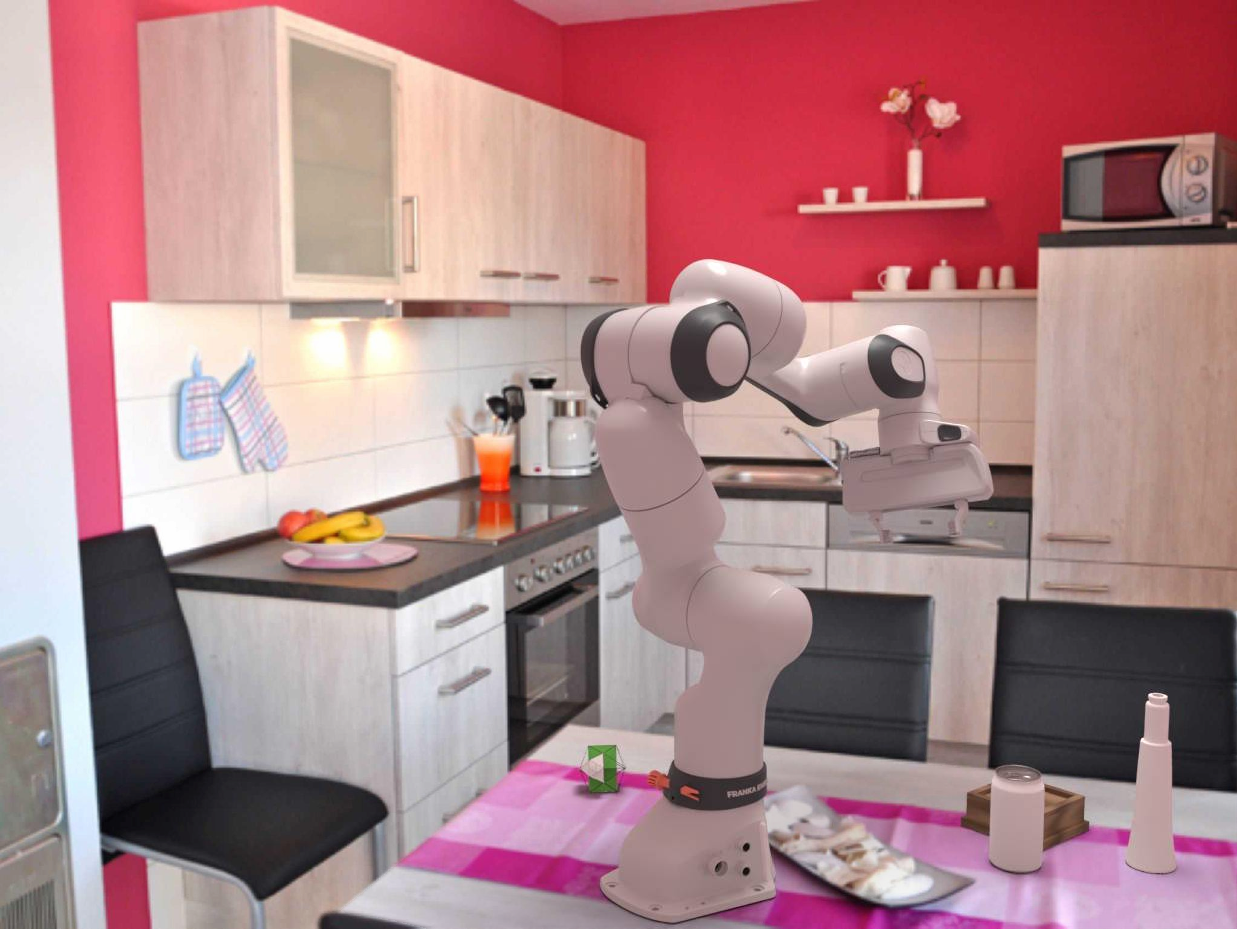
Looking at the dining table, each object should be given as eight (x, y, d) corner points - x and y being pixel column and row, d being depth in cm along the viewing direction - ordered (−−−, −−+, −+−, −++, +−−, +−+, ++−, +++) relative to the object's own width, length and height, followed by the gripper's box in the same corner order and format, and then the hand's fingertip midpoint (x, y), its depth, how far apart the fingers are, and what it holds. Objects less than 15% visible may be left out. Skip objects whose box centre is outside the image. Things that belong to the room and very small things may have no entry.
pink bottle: (1114, 858, 168) (1121, 691, 165) (1151, 851, 170) (1159, 686, 168) (1148, 877, 162) (1156, 704, 160) (1187, 869, 164) (1195, 699, 162)
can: (1048, 874, 163) (1052, 781, 162) (996, 874, 163) (999, 781, 162) (1033, 853, 170) (1036, 763, 168) (983, 853, 170) (985, 763, 168)
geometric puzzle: (578, 763, 198) (578, 732, 192) (623, 762, 198) (625, 731, 193) (579, 805, 193) (580, 775, 187) (626, 804, 193) (628, 773, 188)
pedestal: (1037, 853, 170) (1039, 818, 169) (960, 825, 179) (961, 792, 178) (1089, 829, 177) (1090, 796, 177) (1012, 804, 186) (1013, 772, 186)
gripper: (832, 447, 183) (840, 545, 179) (980, 425, 174) (991, 526, 171) (845, 457, 189) (853, 552, 185) (989, 436, 180) (1000, 534, 176)
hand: (921, 539), depth 178 cm, fingers open, 8 cm apart
